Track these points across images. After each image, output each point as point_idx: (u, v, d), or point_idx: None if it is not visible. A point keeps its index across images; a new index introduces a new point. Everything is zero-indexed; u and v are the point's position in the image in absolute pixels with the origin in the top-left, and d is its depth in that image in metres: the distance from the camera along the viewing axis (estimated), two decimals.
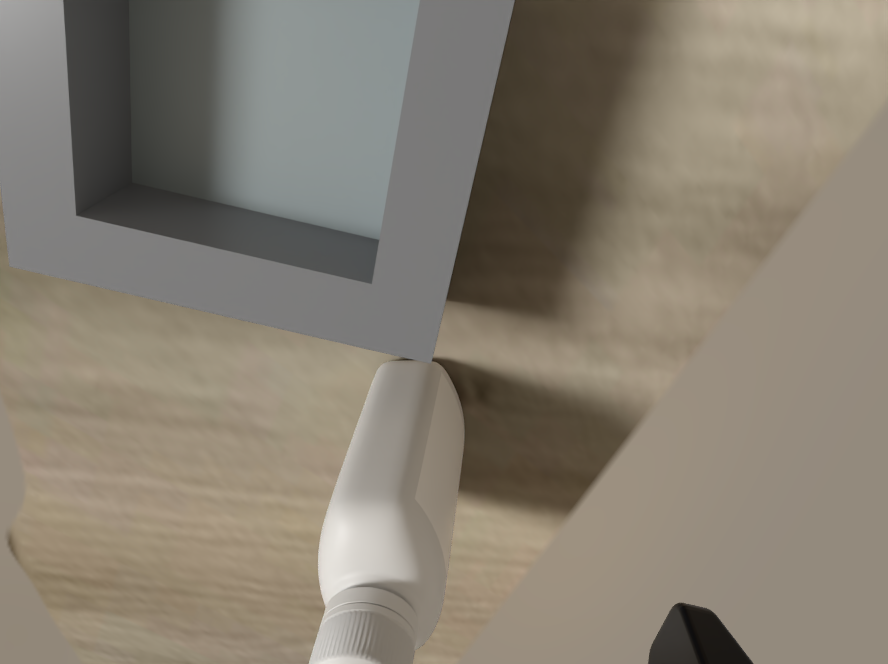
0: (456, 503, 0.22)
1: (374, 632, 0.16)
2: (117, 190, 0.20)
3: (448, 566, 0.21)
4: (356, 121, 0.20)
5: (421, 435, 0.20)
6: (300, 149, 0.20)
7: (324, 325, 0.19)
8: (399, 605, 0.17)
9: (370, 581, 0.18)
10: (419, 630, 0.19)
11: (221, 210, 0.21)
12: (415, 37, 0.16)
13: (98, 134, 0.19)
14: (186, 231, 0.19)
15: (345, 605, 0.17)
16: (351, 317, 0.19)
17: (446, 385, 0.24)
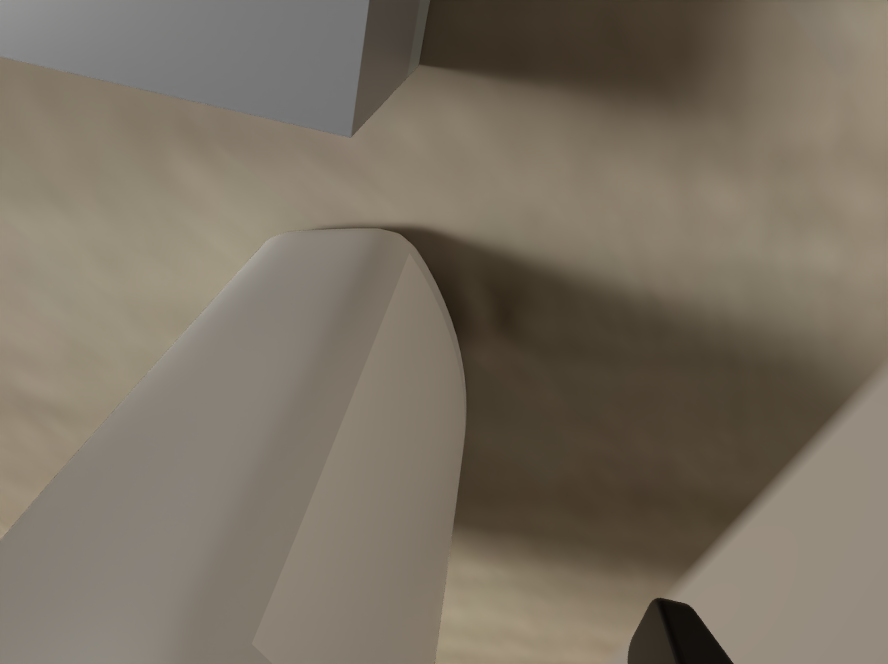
0: (444, 585, 0.08)
1: None
2: None
3: None
4: None
5: (327, 394, 0.06)
6: None
7: None
8: None
9: None
10: None
11: None
12: None
13: None
14: None
15: None
16: None
17: (422, 285, 0.10)
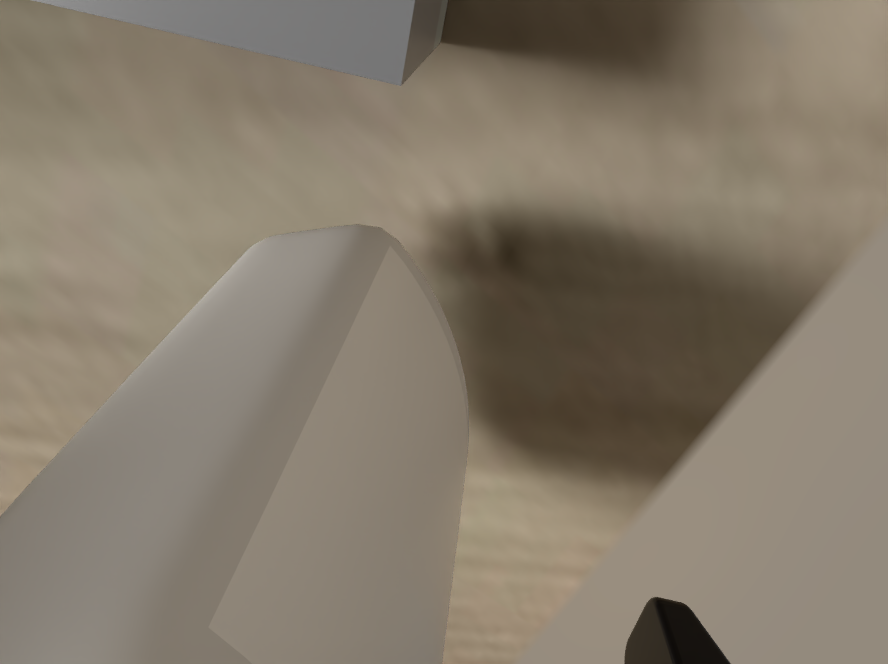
0: (447, 572, 0.08)
1: None
2: None
3: None
4: None
5: (295, 384, 0.06)
6: None
7: None
8: None
9: None
10: None
11: None
12: None
13: None
14: None
15: None
16: None
17: (406, 276, 0.10)
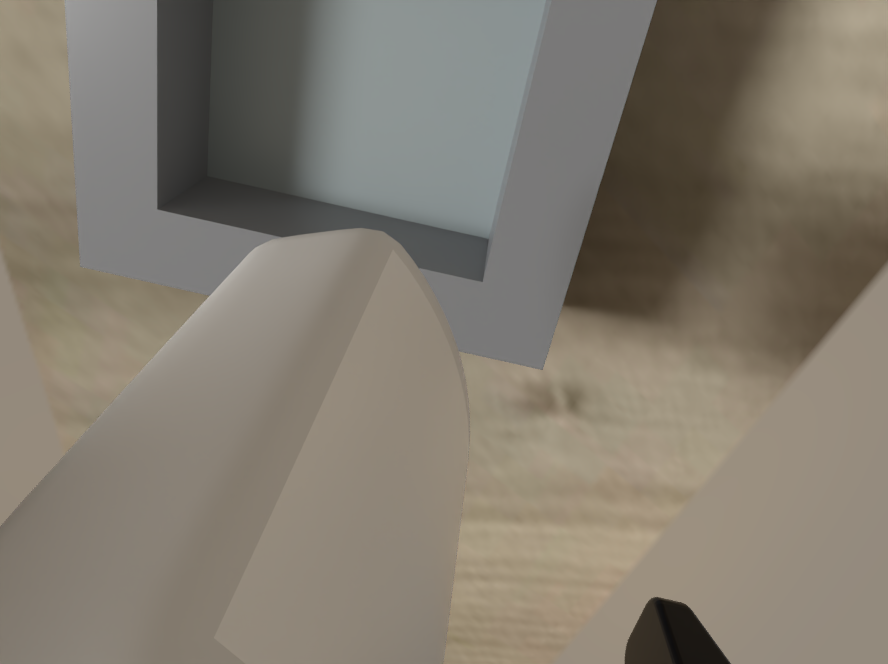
0: (449, 578, 0.08)
1: None
2: (194, 183, 0.19)
3: None
4: (458, 105, 0.18)
5: (300, 391, 0.06)
6: (394, 137, 0.18)
7: None
8: None
9: None
10: None
11: (305, 205, 0.19)
12: (552, 3, 0.14)
13: (180, 120, 0.17)
14: (276, 226, 0.17)
15: None
16: (457, 319, 0.17)
17: (409, 280, 0.10)
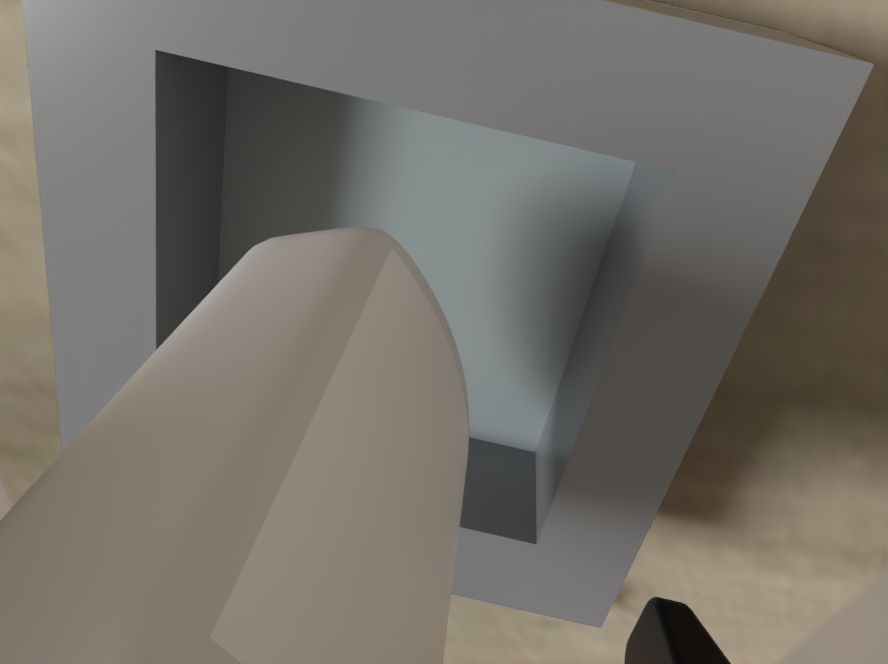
0: (448, 578, 0.08)
1: None
2: None
3: None
4: (506, 321, 0.15)
5: (297, 389, 0.06)
6: None
7: (468, 584, 0.15)
8: None
9: None
10: None
11: None
12: (639, 278, 0.11)
13: None
14: None
15: None
16: (504, 577, 0.15)
17: (408, 278, 0.10)
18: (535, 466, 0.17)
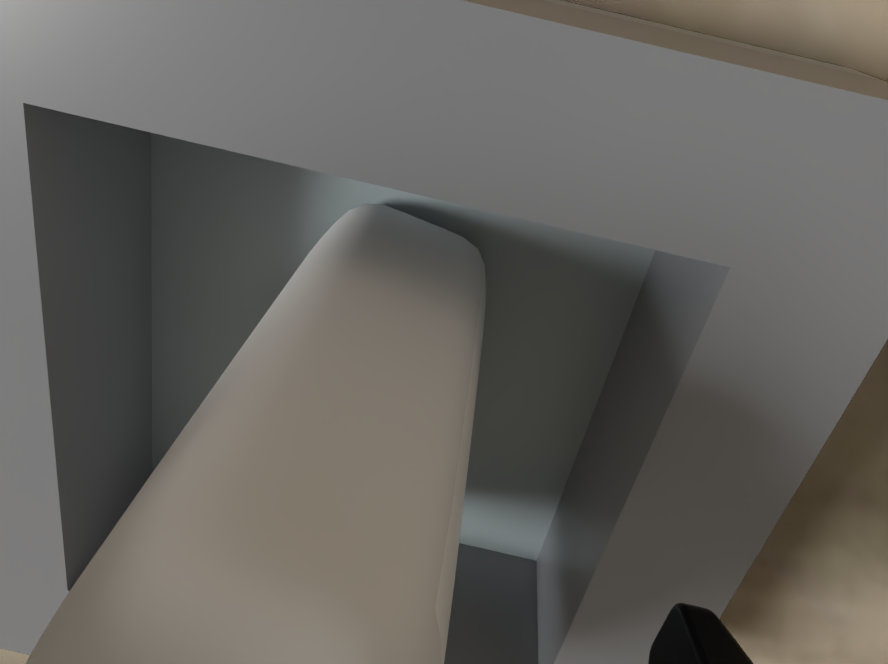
0: None
1: None
2: (131, 500, 0.14)
3: None
4: (501, 414, 0.13)
5: (456, 399, 0.07)
6: None
7: None
8: None
9: None
10: None
11: None
12: (674, 398, 0.09)
13: (103, 456, 0.12)
14: None
15: None
16: None
17: (485, 304, 0.11)
18: (536, 581, 0.14)
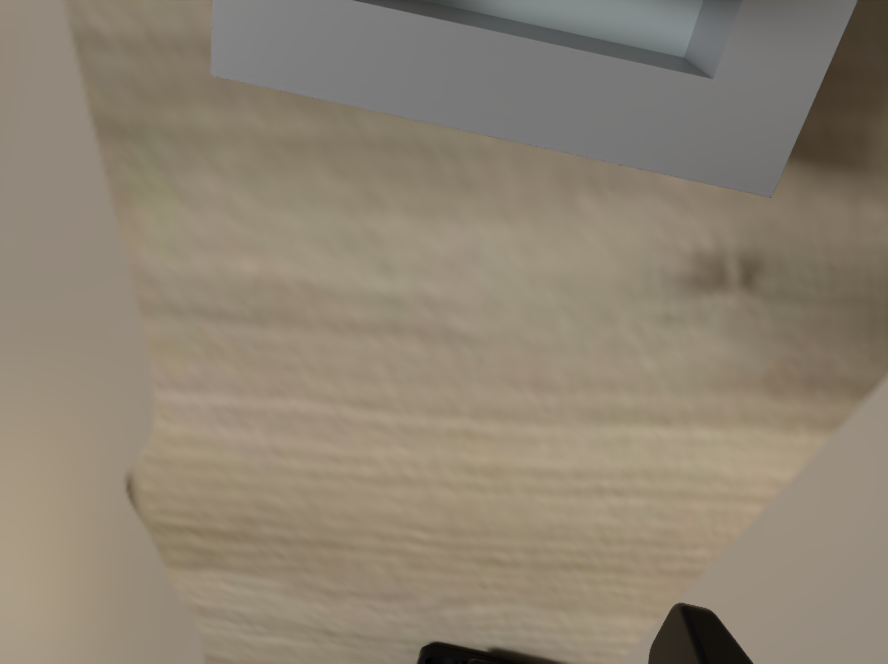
0: None
1: None
2: None
3: None
4: None
5: None
6: None
7: (633, 146, 0.15)
8: None
9: None
10: None
11: (470, 13, 0.16)
12: None
13: None
14: (452, 19, 0.14)
15: None
16: (673, 132, 0.14)
17: None
18: (688, 59, 0.16)
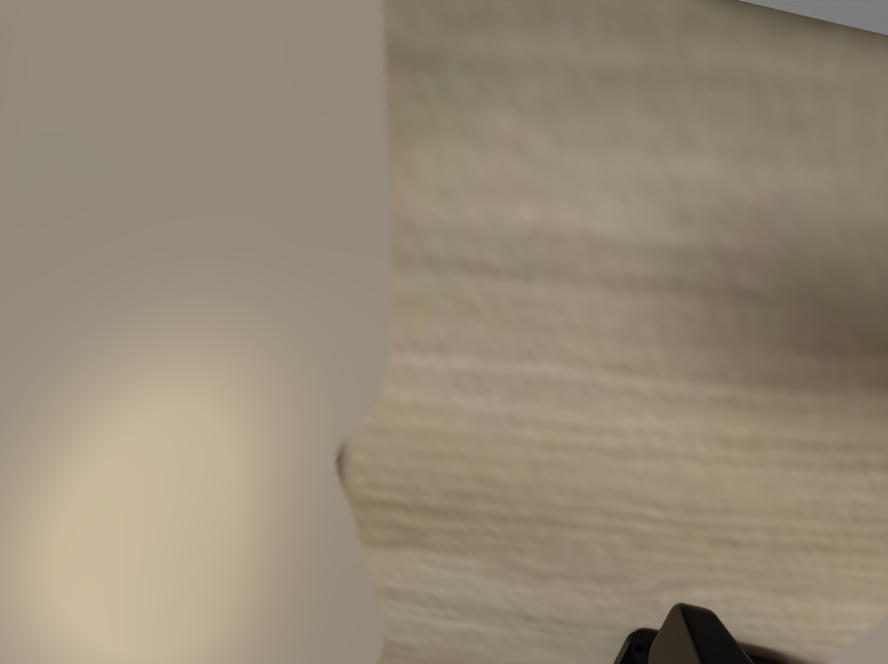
0: None
1: None
2: None
3: None
4: None
5: None
6: None
7: None
8: None
9: None
10: None
11: None
12: None
13: None
14: None
15: None
16: None
17: None
18: None
